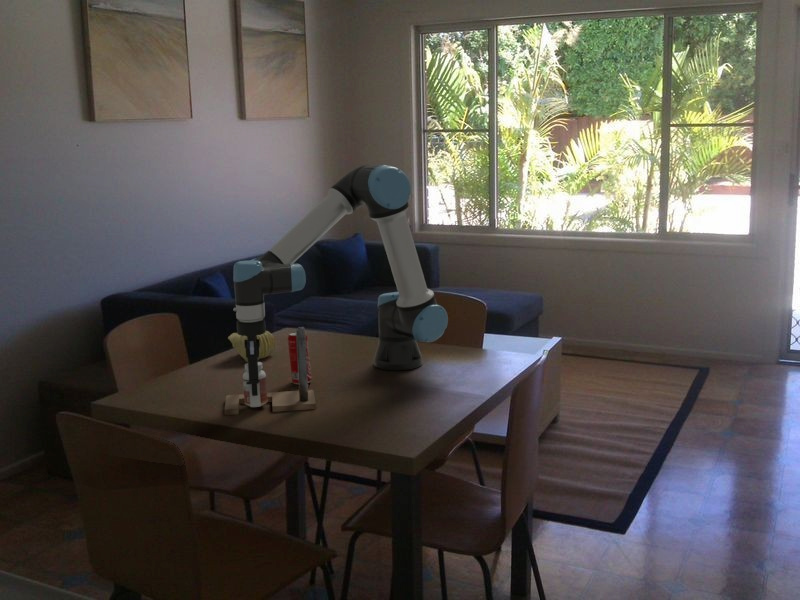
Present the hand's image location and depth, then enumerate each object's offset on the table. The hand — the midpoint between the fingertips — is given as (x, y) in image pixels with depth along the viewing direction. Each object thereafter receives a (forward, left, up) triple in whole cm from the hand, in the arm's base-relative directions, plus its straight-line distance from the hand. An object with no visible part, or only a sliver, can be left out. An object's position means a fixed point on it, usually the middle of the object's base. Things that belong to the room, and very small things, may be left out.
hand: (255, 402), depth 242 cm
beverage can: (-13, -21, -2) cm, 25 cm away
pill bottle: (0, 0, -1) cm, 1 cm away
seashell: (+2, -54, -2) cm, 55 cm away
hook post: (-13, +4, -1) cm, 14 cm away
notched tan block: (-4, -1, -1) cm, 4 cm away
